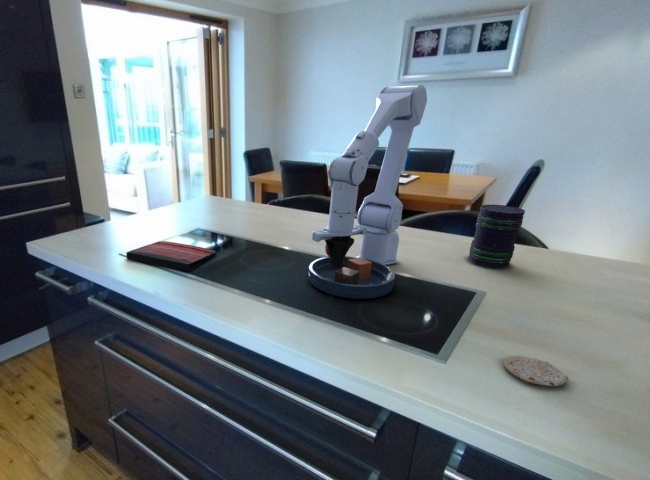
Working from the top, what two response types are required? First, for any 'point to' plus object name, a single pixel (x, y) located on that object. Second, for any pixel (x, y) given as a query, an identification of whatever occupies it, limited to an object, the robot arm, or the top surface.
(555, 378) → the flatbread
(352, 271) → the walnut block
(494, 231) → the storage jar
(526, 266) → the top surface
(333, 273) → the bowl
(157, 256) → the binder
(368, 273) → the terracotta block
